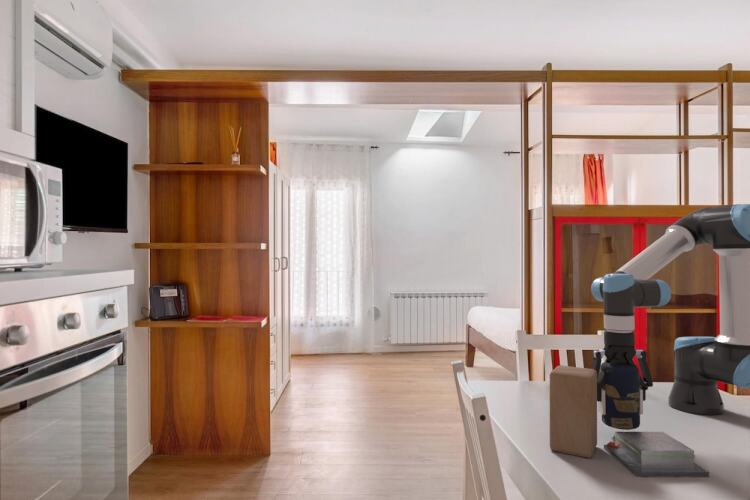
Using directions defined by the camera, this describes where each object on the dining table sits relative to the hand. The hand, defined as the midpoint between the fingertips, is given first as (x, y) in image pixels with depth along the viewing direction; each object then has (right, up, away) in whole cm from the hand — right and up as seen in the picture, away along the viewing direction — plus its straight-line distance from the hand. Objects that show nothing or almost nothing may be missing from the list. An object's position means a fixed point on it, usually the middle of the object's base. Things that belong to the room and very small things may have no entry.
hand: (620, 412), depth 134 cm
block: (-16, -7, -8) cm, 19 cm away
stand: (0, -6, -16) cm, 17 cm away
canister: (0, -4, 0) cm, 4 cm away
